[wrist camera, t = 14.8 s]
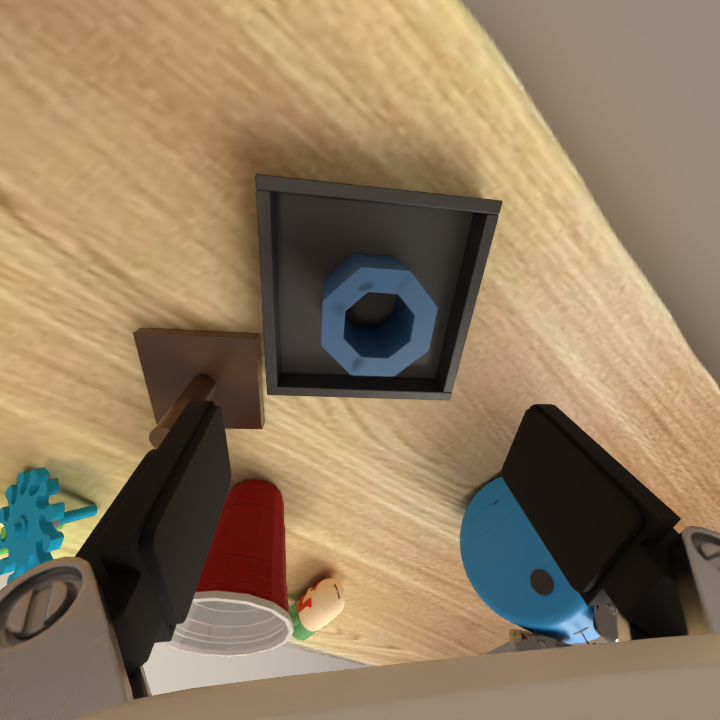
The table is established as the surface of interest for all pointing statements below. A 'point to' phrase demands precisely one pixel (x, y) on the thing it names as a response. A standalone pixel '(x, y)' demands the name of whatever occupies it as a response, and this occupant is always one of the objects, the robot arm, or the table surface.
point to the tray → (368, 236)
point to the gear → (33, 522)
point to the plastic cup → (241, 580)
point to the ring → (392, 338)
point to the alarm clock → (525, 576)
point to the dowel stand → (201, 375)
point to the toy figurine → (317, 608)
